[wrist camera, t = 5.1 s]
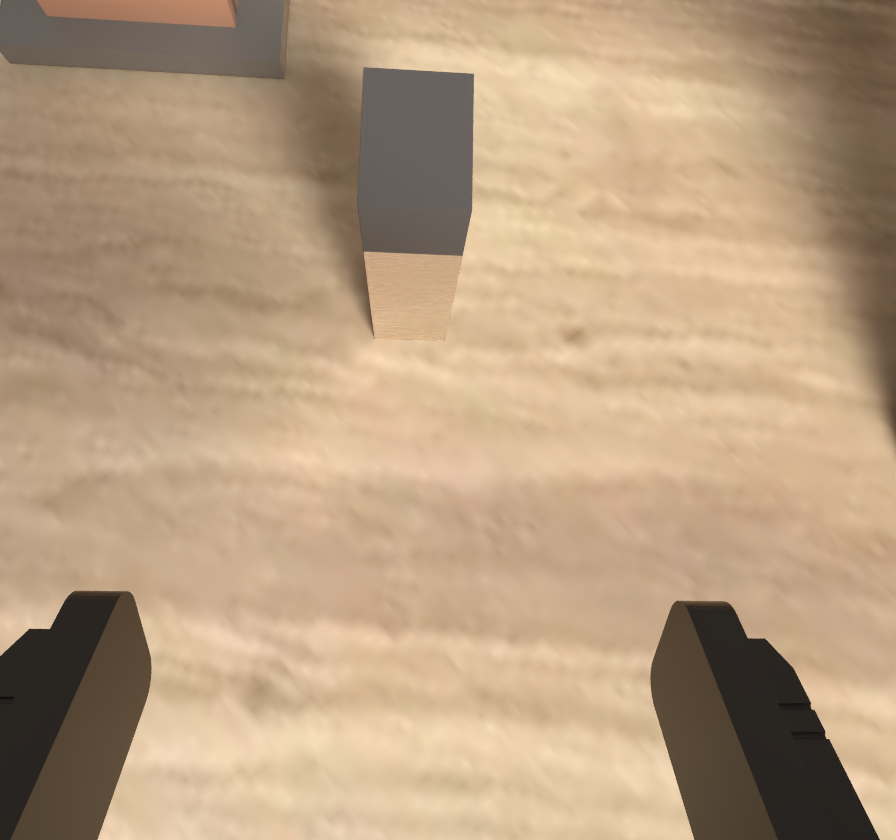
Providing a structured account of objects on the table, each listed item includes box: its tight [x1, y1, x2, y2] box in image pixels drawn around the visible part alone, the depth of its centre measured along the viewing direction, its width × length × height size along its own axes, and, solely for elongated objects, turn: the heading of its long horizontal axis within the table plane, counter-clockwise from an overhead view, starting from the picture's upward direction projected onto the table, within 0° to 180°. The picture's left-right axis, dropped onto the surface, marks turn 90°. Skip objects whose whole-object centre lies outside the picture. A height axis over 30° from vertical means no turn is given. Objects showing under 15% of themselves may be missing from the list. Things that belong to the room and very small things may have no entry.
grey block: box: [357, 67, 474, 341], centre depth 25 cm, size 3×4×12 cm
